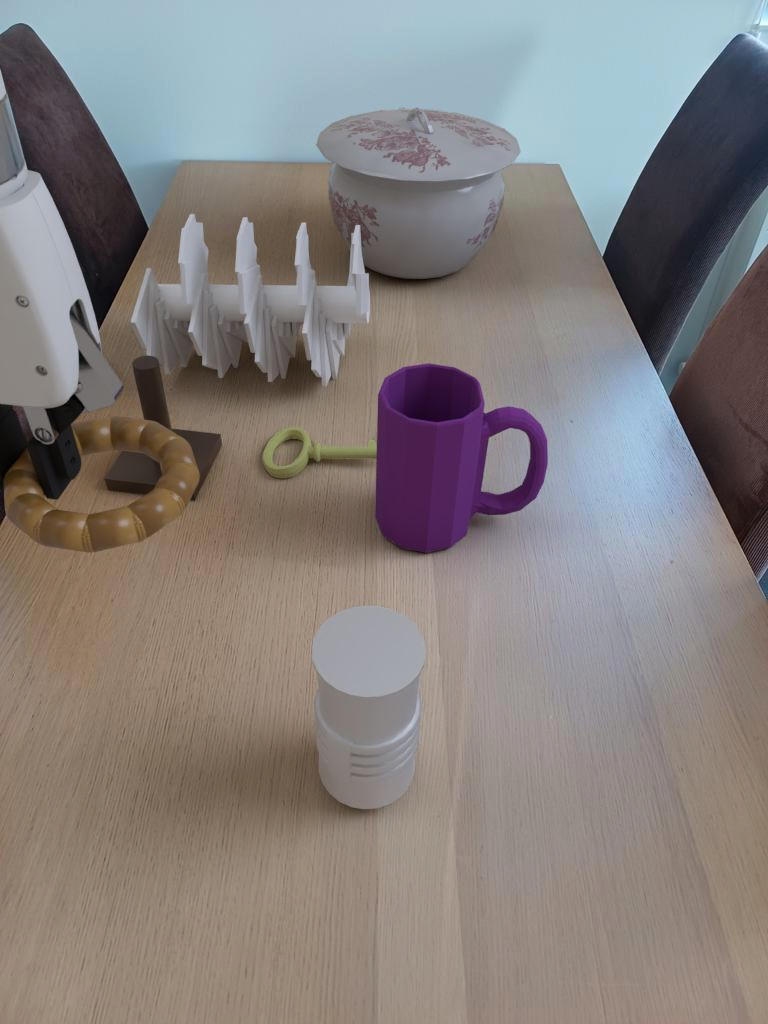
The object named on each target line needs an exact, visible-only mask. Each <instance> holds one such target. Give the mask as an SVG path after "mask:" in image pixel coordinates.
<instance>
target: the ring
mask: <svg viewBox="0 0 768 1024" xmlns="http://www.w3.org/2000/svg"><path fill="white" fill-rule="evenodd" d="M71 426H72V430H73V433H74V437H75V440H76V443H77V447H78V450H79V454H80V457H81V458H82V457H84V456H90V455H94V454H99V453H104V452H105V453H106V452H110V451H115V450H116V451H122V450H123V451H130V452H138V453H144V454H146V455H147V456H149V457H150V458H152V459H154V460H155V461H157V462H158V463H159V464H160V467H161V471H162V475H161V477H160V479H159V481H158V482H157V484H156V486H155V488H154V489H153V490H152V491H150V492H149V493H147V494H146V495H145V494H143V496H142V495H141V497H139V498H137V499H135V500H134V501H133V502H131V503H129V504H128V505H126V506H122V507H117V508H113V509H108V510H103V511H98V512H95V513H84V512H77V511H71V510H70V511H69V510H62V509H58V508H57V507H56V506H54V505H53V504H51V503H50V502H49V501H48V500H46V499H45V496H44V491H43V488H42V486H41V485H40V483H39V481H38V478H37V475H36V472H35V469H34V466H33V463H32V460H31V457H30V455H29V452H28V448H26V449H25V450H24V452H23V453H22V454H21V455H20V457H19V458H18V459H17V460H16V462H15V463H14V464H13V465H12V467H11V468H10V469H9V470H8V472H7V473H6V475H5V477H4V483H3V484H4V492H3V500H4V513H5V515H6V518H7V519H8V520H9V522H10V523H11V524H13V525H14V526H15V527H16V528H18V529H19V530H20V531H22V532H23V533H24V534H25V535H26V536H27V537H29V538H30V539H31V540H32V541H34V542H35V543H36V544H38V545H40V546H43V547H47V548H53V549H61V550H68V551H73V552H74V551H75V552H82V553H89V554H92V553H97V552H102V551H106V550H110V549H116V548H121V547H123V546H128V545H132V544H133V545H134V544H137V543H141V542H143V541H145V540H147V539H148V538H150V537H151V536H153V535H154V534H156V533H158V532H160V530H162V529H164V528H165V527H166V526H169V525H170V524H171V523H173V522H174V521H175V520H177V519H178V518H180V517H181V516H182V515H183V514H184V512H185V511H186V509H187V507H188V504H189V503H190V501H191V500H190V499H191V497H192V495H193V493H194V491H195V489H196V487H197V485H198V483H199V479H200V474H199V470H198V467H197V464H196V461H195V458H194V455H193V451H192V448H191V446H190V444H189V443H188V442H187V441H186V440H185V439H184V438H182V437H181V436H179V435H177V434H176V433H174V432H172V431H171V430H169V429H168V428H166V427H164V426H163V425H161V424H159V423H158V422H155V421H150V420H144V419H143V418H133V417H126V416H120V415H119V416H118V415H111V416H105V417H100V418H94V419H88V420H81V421H76V422H73V423H72V424H71Z"/></svg>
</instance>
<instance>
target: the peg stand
mask: <svg viewBox="0 0 768 1024" xmlns="http://www.w3.org/2000/svg"><path fill="white" fill-rule="evenodd" d="M131 367H132V371H133V375H134V380H135V384H136V390H137V395H138V398H139V402H140V408H141V412H142V416H143V420H150V421H155V422H158V423H159V424H161V425H163V426H164V427H166V428H168V429H169V430H171V431H172V432H174V433H176V434H177V435H179V436H181V437H182V438H184V439H185V440H186V441H187V442H188V443H189V444H190V446H191V448H192V451H193V455H194V458H195V461H196V464H197V467H198V470H199V474H200V479H199V483H198V485H197V487H196V489H195V491H194V493H193V495H192V497H191V499H190V501H196V499H197V497H198V495H199V493H200V491H201V489H202V487H203V485H204V483H205V481H206V479H207V477H208V475H209V473H210V471H211V469H212V467H213V465H214V463H215V460H216V459H217V456H218V454H219V452H220V450H221V448H222V446H223V442H222V435H221V433H216V432H214V433H213V432H208V431H207V432H206V431H198V430H197V431H196V430H190V429H189V430H187V429H179V428H173V427H172V423H171V418H170V412H169V408H168V402H167V397H166V392H165V387H164V382H163V376H162V371H161V365H159V361H158V359H157V358H156V357H154V356H148V355H147V356H146V355H140V356H138V357H135V359H133V360H132V362H131ZM161 475H162V471H161V467H160V464H159V463H158V462H157V461H155V460H154V459H152V458H150V457H149V456H147V455H146V454H144V453H138V452H130V451H123V450H121V452H120V453H119V454H118V456H117V458H116V460H115V461H114V463H113V464H112V466H111V468H110V469H109V471H108V472H107V474H106V475H105V477H104V482H105V486H106V489H107V491H113V492H121V493H128V494H139V495H146V494H147V493H149V492H150V491H152V490H153V489H154V488H155V486H156V484H157V482H158V481H159V479H160V477H161Z"/></svg>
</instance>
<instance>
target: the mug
mask: <svg viewBox="0 0 768 1024" xmlns="http://www.w3.org/2000/svg"><path fill="white" fill-rule="evenodd" d="M485 406H486V405H485V399H484V395H483V390H482V386H481V383H480V381H479V380H478V378H477V377H475V376H473V375H471V374H470V373H467V372H465V371H463V370H461V369H459V368H457V367H455V366H448V365H442V364H436V363H430V362H429V363H421V364H414V365H407V366H402V367H400V368H399V369H398V370H397V369H396V371H393V372H392V373H391V374H389V375H387V376H385V377H384V380H383V381H382V384H381V386H380V389H379V391H378V393H377V418H376V420H377V421H376V422H377V423H376V442H377V456H376V459H375V461H376V462H375V463H376V465H375V471H376V472H375V497H374V499H375V501H374V502H375V504H374V505H375V506H374V519H375V521H376V523H377V525H378V528H379V530H380V532H381V535H382V537H385V539H387V540H388V541H390V542H391V543H393V544H394V545H396V546H397V547H399V548H400V549H403V550H409V551H415V552H421V553H425V554H427V553H432V552H436V551H442V550H446V549H451V548H452V547H453V546H455V545H456V544H457V543H458V542H460V541H461V540H462V539H463V538H465V537H466V536H467V534H468V530H469V525H470V520H471V519H472V518H473V517H474V516H475V515H476V514H477V513H478V514H482V515H484V516H485V515H486V516H505V515H509V514H512V513H517V512H520V511H522V510H523V509H524V508H526V507H527V506H528V505H530V504H531V503H532V502H533V501H534V500H536V499H537V497H538V495H539V494H540V491H541V489H542V487H543V485H544V483H545V479H546V474H547V469H548V465H549V464H548V463H549V461H548V460H549V459H548V458H549V457H548V452H549V451H548V438H547V435H546V433H545V430H544V428H543V425H542V424H541V423H540V421H538V420H537V419H536V418H535V417H534V416H533V415H532V414H531V413H530V412H528V411H527V410H526V409H524V408H520V407H514V406H510V405H509V406H503V407H498V408H495V409H493V410H491V411H487V412H485ZM510 429H514V430H519V431H521V432H523V433H525V435H526V436H527V438H528V441H529V460H528V461H529V462H528V465H527V469H526V474H525V477H524V479H523V481H522V483H521V484H520V485H518V486H517V487H515V488H514V489H512V490H510V491H506V492H502V493H501V494H500V493H499V494H498V493H493V492H488V491H482V488H483V479H484V473H485V468H486V467H485V466H486V460H487V454H488V448H489V440H490V438H491V437H494V436H496V435H498V434H500V433H502V432H504V431H506V430H510Z"/></svg>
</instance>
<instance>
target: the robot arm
mask: <svg viewBox="0 0 768 1024" xmlns="http://www.w3.org/2000/svg"><path fill="white" fill-rule="evenodd" d="M44 181H45V180H44V179H43V177H42V175H41V173H39V172H37V171H33V170H31V169H30V170H29V169H28V167H27V163H26V159H25V155H24V151H23V147H22V143H21V140H20V136H19V132H18V127H17V125H16V122H15V118H14V114H13V110H12V106H11V103H10V99H9V95H8V92H7V90H6V85H5V81H4V79H3V75H2V71H1V69H0V493H4V484H3V483H4V477H5V475H6V473H7V472H8V470H9V469H10V468H11V467H12V465H13V464H14V463H15V462H16V460H17V459H18V458H19V457H20V455H21V454H22V453H23V452H24V450H25V449H26V448H28V452H29V455H30V457H31V460H32V463H33V466H34V469H35V472H36V475H37V478H38V481H39V483H40V485H41V486H42V488H43V491H44V497H45V498H46V499H48V500H55V501H57V500H59V499H60V498H61V497H62V495H63V493H64V492H65V490H66V489H67V487H68V486H69V485H70V483H71V482H72V481H73V480H75V479H76V478H77V476H78V475H79V473H80V471H81V468H82V456H81V457H80V454H79V450H78V447H77V443H76V440H75V437H74V433H73V430H72V426H71V424H72V423H75V421H76V420H77V419H78V418H79V417H80V416H81V415H82V414H86V413H88V414H91V413H93V412H96V411H100V410H104V409H106V408H111V407H113V406H114V405H115V403H116V402H117V401H118V399H119V398H120V396H121V395H122V393H124V390H125V386H124V383H123V382H122V380H121V379H120V378H119V376H118V374H117V373H116V372H115V370H114V369H113V367H112V366H111V365H110V363H109V362H108V360H107V358H105V356H104V354H103V353H102V350H103V349H102V342H101V337H100V332H99V327H98V321H97V319H96V318H97V317H96V314H95V311H94V307H93V304H92V303H93V302H92V300H91V296H90V293H89V290H88V287H87V283H86V281H85V278H84V275H83V272H82V268H81V266H80V263H79V260H78V257H77V253H76V252H75V249H74V246H73V243H72V240H71V238H70V236H69V234H68V231H67V228H66V226H65V223H64V221H63V219H62V217H61V214H60V212H59V210H58V208H57V206H56V204H55V201H54V199H53V196H52V195H51V193H50V191H49V189H48V187H47V185H46V182H44ZM14 406H16V407H22V410H23V412H24V414H25V418H26V419H27V423H28V426H29V428H30V431H31V433H32V437H31V438H30V440H29V441H28V442H27V439H26V436H25V433H24V431H23V427H22V425H21V421H20V419H19V415H18V413H17V410H15V408H14Z"/></svg>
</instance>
